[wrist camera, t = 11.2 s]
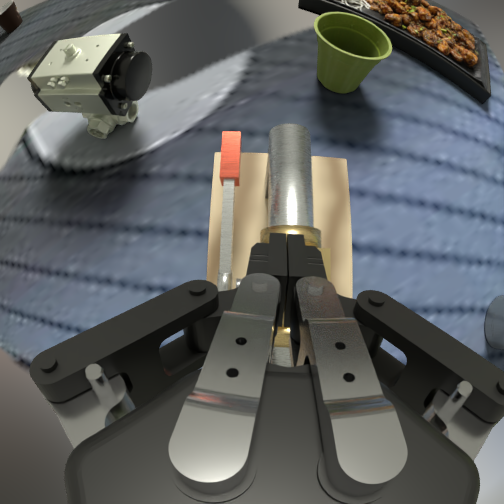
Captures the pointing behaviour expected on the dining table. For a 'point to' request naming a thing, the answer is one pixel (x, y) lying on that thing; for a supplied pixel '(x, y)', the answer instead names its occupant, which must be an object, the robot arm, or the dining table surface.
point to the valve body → (290, 204)
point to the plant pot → (348, 50)
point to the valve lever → (228, 204)
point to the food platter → (422, 37)
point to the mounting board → (256, 216)
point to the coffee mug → (10, 17)
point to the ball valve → (93, 80)
